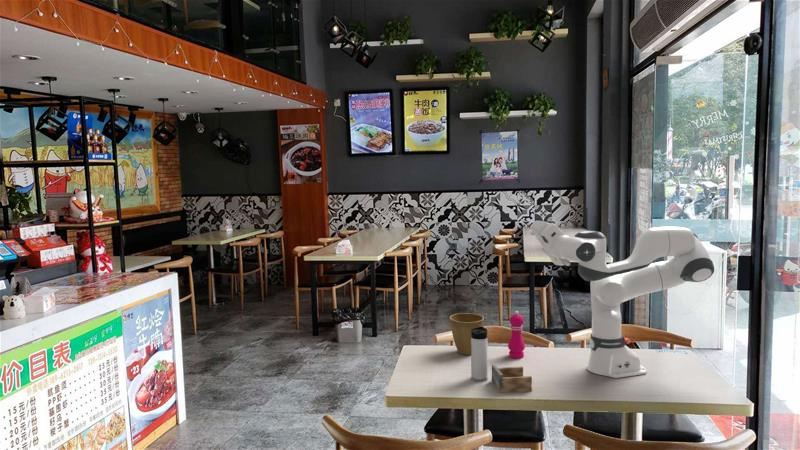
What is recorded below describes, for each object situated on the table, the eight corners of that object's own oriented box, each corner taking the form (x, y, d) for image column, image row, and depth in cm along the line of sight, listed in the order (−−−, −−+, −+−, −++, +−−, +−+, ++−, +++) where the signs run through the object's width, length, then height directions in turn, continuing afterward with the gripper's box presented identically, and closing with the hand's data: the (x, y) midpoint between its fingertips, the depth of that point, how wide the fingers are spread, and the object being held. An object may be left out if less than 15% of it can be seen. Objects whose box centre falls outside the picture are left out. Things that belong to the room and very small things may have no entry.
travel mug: (489, 377, 237) (489, 327, 234) (484, 382, 231) (484, 331, 228) (474, 374, 239) (474, 325, 237) (469, 380, 233) (468, 330, 231)
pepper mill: (525, 359, 257) (525, 313, 254) (507, 358, 258) (507, 312, 256) (524, 353, 264) (525, 309, 261) (508, 353, 265) (508, 308, 263)
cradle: (521, 379, 234) (522, 362, 233) (531, 391, 222) (531, 373, 221) (491, 381, 232) (491, 364, 232) (499, 392, 220) (499, 375, 220)
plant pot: (447, 357, 261) (447, 321, 259) (452, 346, 276) (452, 312, 274) (482, 359, 258) (482, 322, 256) (485, 348, 272) (485, 313, 271)
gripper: (577, 261, 230) (555, 255, 243) (552, 220, 224) (530, 216, 236) (566, 271, 229) (544, 265, 242) (540, 230, 222) (519, 226, 235)
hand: (537, 240), depth 239 cm, fingers open, 8 cm apart
